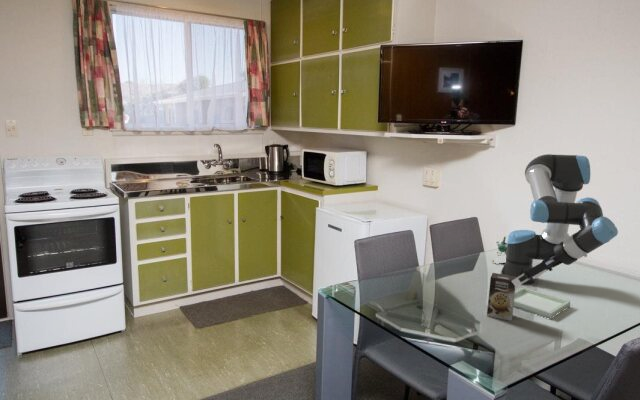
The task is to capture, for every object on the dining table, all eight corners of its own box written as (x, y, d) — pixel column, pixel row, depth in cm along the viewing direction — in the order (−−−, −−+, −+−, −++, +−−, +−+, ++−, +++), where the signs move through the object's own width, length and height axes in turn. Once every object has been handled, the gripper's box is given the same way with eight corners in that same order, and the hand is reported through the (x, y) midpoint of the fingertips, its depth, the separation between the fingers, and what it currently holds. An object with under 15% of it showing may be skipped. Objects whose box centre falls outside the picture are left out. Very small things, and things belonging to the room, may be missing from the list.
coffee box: (486, 316, 179) (489, 277, 176) (488, 310, 185) (492, 272, 182) (511, 321, 175) (515, 281, 172) (513, 315, 181) (516, 276, 178)
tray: (501, 302, 192) (501, 297, 192) (522, 292, 203) (522, 287, 203) (550, 319, 177) (550, 313, 177) (569, 307, 188) (570, 301, 188)
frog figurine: (520, 260, 248) (522, 234, 244) (501, 270, 238) (502, 243, 234) (504, 255, 255) (505, 230, 251) (485, 265, 245) (485, 239, 241)
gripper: (562, 267, 146) (512, 297, 160) (592, 252, 162) (545, 281, 176) (546, 247, 149) (499, 278, 163) (578, 234, 165) (532, 264, 179)
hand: (523, 279), depth 170 cm, fingers open, 13 cm apart
